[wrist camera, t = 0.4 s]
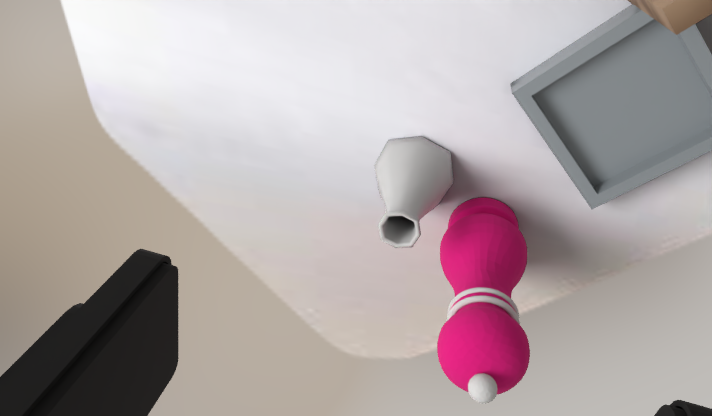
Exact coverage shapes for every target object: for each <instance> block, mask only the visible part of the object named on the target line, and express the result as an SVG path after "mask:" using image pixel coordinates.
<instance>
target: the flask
mask: <svg viewBox="0 0 712 416" xmlns="http://www.w3.org/2000/svg"><path fill="white" fill-rule="evenodd" d="M374 167H375V172H376V178H377V183H378V188H379V193H380V196H381V198H382V200H383V202H384V204H385V207H386V213H385V215H384V216H383V218H382V219H381V221H380V223H379V224H378V228H379V233H380V238H381V241H383V242H385V243H387V244H389V245H391V246H393V247H395V248H406V247H413V245H414V244H415V242H416V241H417V239H418V238H419V237H420V235H421V231H420V225H419V221H420V219H421V218H422V217H423V216H424V215H426V214H427V213H428V212H430V211H431V210H432V209H434V208H435V207H436V206H437V205H438V204H439V203H440V201H441V200H442V198H443V197H444V195H445V194H446V192H447V191H448V189H449V188H450V186H451V185H452V184H453V182H454V179H453V171H452V162H451V154H450V152H449V151H447V150H446V149H444V148H442V147H440V146H438V145H436V144H435V143H433V142H431V141H429V140H427V139H425V138H423V137H422V136H419V137H410V138H400V139H390V140H388V142H387V143H386V145H385V147H384V149H383V150H382V152H381V154H380V156H379V157H378V159H377V161H376V163H375V165H374Z"/></svg>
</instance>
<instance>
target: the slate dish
mask: <svg viewBox="0 0 712 416" xmlns="http://www.w3.org/2000/svg"><path fill="white" fill-rule="evenodd" d="M511 89H512V94H513V95H514V97H515V98H516V100H517V101H518V102H519V104H520V105H521V107H522V108H523V110H524V111H525V113H526V114H527V116H528V117H529V119H530V120H531V121H532V123H533V124H534V126H535V127H536V129H537V130H538V132H539V133H540V135H541V136H542V137H543V139H544V140H545V142H546V143H547V145H548V146H549V148H550V149H551V151H552V152H553V154H554V155H555V156H556V158H557V159H558V161H559V162H560V164H561V165H562V167H563V168H564V170H565V171H566V173H567V174H568V175H569V177H570V178H571V180H572V181H573V183H574V184H575V186H576V187H577V189H578V190H579V191H580V193H581V194H582V196H583V197H584V199H585V200H586V202H587V203H588V205H589V206H590V208H591V209H594V208H596V207H598V206H600V205H602V204H604V203H606V202H608V201H610V200H612V199H614V198H616V197H618V196H620V195H622V194H624V193H626V192H628V191H630V190H632V189H634V188H636V187H638V186H640V185H642V184H644V183H646V182H649V181H651V180H653V179H655V178H657V177H659V176H661V175H663V174H665V173H667V172H669V171H671V170H673V169H675V168H677V167H679V166H681V165H683V164H685V163H687V162H689V161H691V160H693V159H695V158H697V157H699V156H701V155H703V154H705V153H708V152H710V151H712V54H711V52H710V50H709V49H708V47H707V45H706V43H705V41H704V39H703V37H702V36H701V34H700V32H699V30H698V28H697V26H696V25H695V24H694V25H692V26H691V27H689V28H687V29H686V30H684V31H682V32H681V33H679V34H677V35H676V34H675V33H673V32H672V31H670V30H669V29H667V28H666V27H665V26H663V25H662V24H660V23H659V22H658V21H656V20H655V19H653V18H652V17H650V16H649V15H648V14H646V13H645V12H643V11H642V10H641V9H639V8H638V7H636V6H635V5H633V4H632V5H631V6H629V7H628V8H626V9H625V10H623V11H622V12H620V13H618V14H617V15H615V16H614V17H612V18H611V19H609V20H608V21H606V22H605V23H603V24H602V25H600V26H598V27H597V28H595V29H594V30H592V31H591V32H589V33H588V34H586V35H585V36H583V37H582V38H580V39H579V40H577V41H575V42H574V43H572V44H571V45H569V46H568V47H566V48H565V49H563V50H562V51H560V52H559V53H557V54H555V55H554V56H552V57H551V58H549V59H548V60H546V61H545V62H543V63H542V64H540V65H539V66H537V67H536V68H534V69H532V70H531V71H529V72H528V73H526V74H525V75H523V76H522V77H520V78H519V79H517V80H516V81H514V82H512V83H511Z"/></svg>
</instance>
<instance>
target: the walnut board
mask: <svg viewBox="0 0 712 416" xmlns="http://www.w3.org/2000/svg"><path fill="white" fill-rule="evenodd" d="M628 1H629V2H631V3H632V4H633V5H635V6H636V7H638V8H639V9H641V10H642V11H643V12H645V13H646V14H648V15H649V16H650V17H652V18H653V19H655V20H656V21H658V22H659V23H660V24H662V25H663V26H665V27H666V28H667V29H669V30H670V31H672V32H673V33H675V34H676V35H677V34H679V33H681V32H682V31H684V30H686V29H687V28H689V27H691V26H692V25H694V24H696V23H697V22H699V21H701V20H702V19H704V18H706V17H707V16H709V15H711V14H712V0H628Z"/></svg>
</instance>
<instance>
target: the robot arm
mask: <svg viewBox="0 0 712 416" xmlns="http://www.w3.org/2000/svg"><path fill="white" fill-rule="evenodd" d="M177 363H178V269H177V267H176V266H173V265H171V259H170V258H169V257H168V256H165V255H161V254H158V253H154V252H151V251H147V250H144V249H139V250H137V251H136V252H134V253H133V254H132V255H131V256H130V258H129V259H127V260H126V262H125V263H124V264H123V265H122V266H121V267H120V268H119V269H118V270H117V271H116V272H115V273H114V274H113V275H112V276H111V277H110V278H109V279H108V280H107V281H106V282H105V283H104V284H103V285H102V286H101V287H100V288H99V289H98V290H97V291H96V292H95V293H94V294H93V295H92V296H91V297H90V298H89V299H88V300H87V301H86V302H85V303H84V304H81V303H79V304H77V305H74V306H73V307H71V308H70V309H69V310H68V311H66V312H65V313H64V314H63V315H62V316H61V317H60V318H59V319H58V320H57V321H56V322H55V323H54V324H53V325H52V326H51V327H50V328H49V329H48V330H47V331H46V332H45V333H44V334H43V335H42V336H41V337H40V338H39V339H38V340H37V341H36V342H35V343H34V344H33V345H32V346H31V347H30V348H29V349H28V350H27V351H26V352H25V353H24V354H23V355H22V356H21V357H20V358H19V359H18V360H17V361H16V362H15V363H14V364H13V365H12V366H11V367H10V368H9V369H8V370H7V371H6V372H5V373H4V374H3V375H2V376H1V377H0V416H147V415H148V414H149V412H150V411H151V409H152V408H153V406H154V405H155V403H156V401H157V400H158V398H159V397H160V395H161V394H162V392H163V391H164V389H165V387H166V386H167V384H168V383H169V381H170V380H171V378H172V376H173V375H174V372H175V370H176V367H177ZM654 416H712V409H710V408H706V407H703V406H700V405H696V404H692V403H689V402H685V401H681V400H677V401H674V402H673V403H672V404H671V405H670V406H669V405H663V406H662V407H661V408H660V409H659V410H658V412H657V413H656V414H655V415H654Z"/></svg>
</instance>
